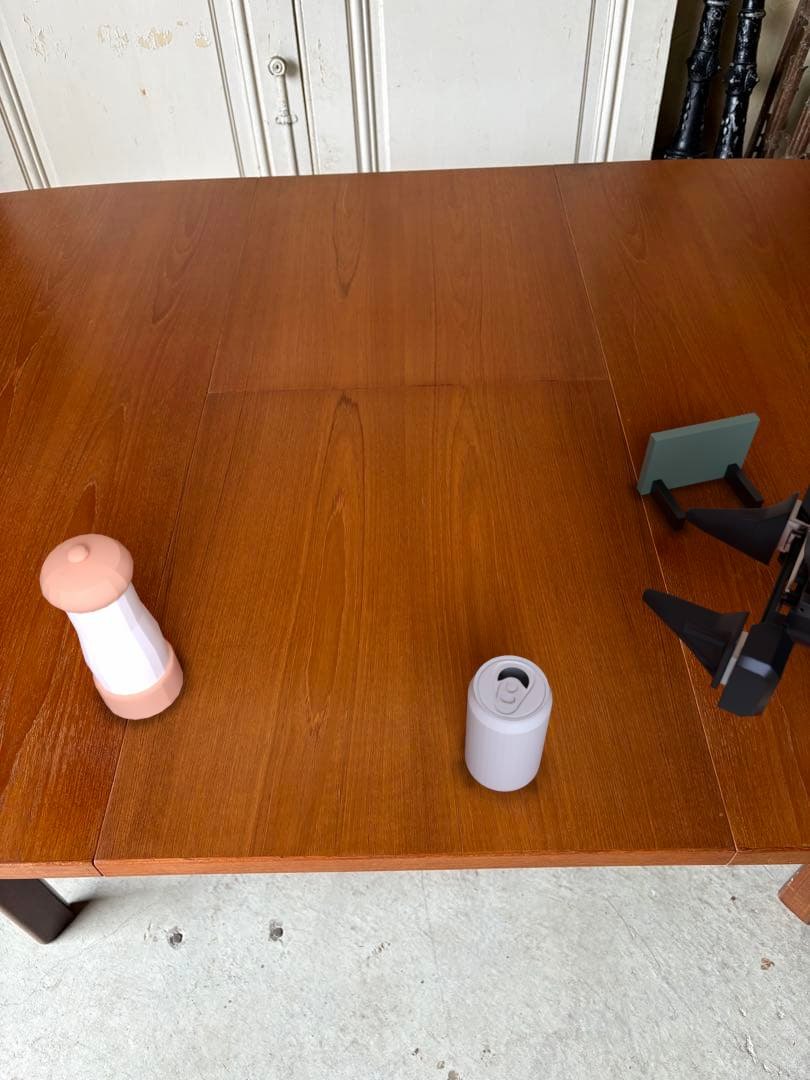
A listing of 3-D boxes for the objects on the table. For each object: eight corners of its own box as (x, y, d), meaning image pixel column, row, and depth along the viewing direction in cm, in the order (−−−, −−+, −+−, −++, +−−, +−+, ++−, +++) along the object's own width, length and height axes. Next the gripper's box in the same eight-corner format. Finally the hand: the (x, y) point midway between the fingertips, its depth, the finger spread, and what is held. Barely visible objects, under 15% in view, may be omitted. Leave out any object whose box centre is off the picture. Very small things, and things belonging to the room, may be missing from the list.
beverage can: (546, 738, 71) (562, 662, 62) (529, 805, 67) (543, 735, 58) (476, 717, 72) (481, 641, 63) (455, 782, 68) (457, 710, 59)
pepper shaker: (95, 720, 73) (12, 589, 59) (114, 652, 78) (41, 516, 64) (175, 719, 73) (111, 586, 59) (189, 651, 78) (133, 513, 64)
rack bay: (767, 510, 88) (791, 455, 82) (665, 533, 86) (682, 479, 80) (734, 467, 92) (754, 412, 87) (636, 487, 91) (650, 433, 85)
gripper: (964, 465, 54) (729, 397, 60) (914, 671, 44) (637, 564, 50) (897, 572, 63) (697, 503, 69) (842, 767, 52) (612, 665, 58)
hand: (665, 551), depth 61 cm, fingers open, 9 cm apart
